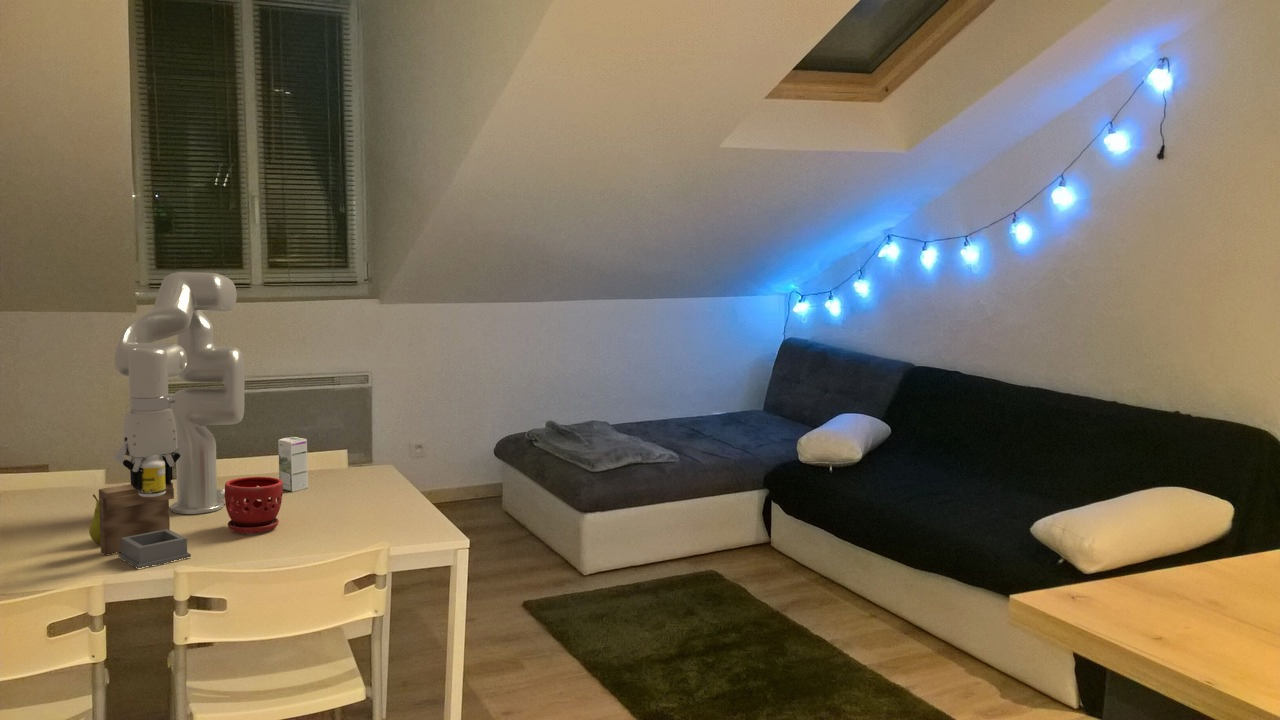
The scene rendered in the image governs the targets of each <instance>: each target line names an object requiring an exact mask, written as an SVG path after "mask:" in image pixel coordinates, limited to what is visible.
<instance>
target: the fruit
mask: <svg viewBox="0 0 1280 720" xmlns="http://www.w3.org/2000/svg"><path fill="white" fill-rule="evenodd" d="M92 497H93V498H94V499H95V501H96V504H95V508H94V513H93V520H92V522H91V524H90V526H89V531H88V533H89V536H90V538H91V540H92V541H93V542H94V543H96V544H97V545H101V539H100V514H99V499H98V498H97V496H96V495H95V494H92Z"/></svg>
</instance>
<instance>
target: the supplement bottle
mask: <svg viewBox="0 0 1280 720" xmlns="http://www.w3.org/2000/svg"><path fill="white" fill-rule="evenodd" d="M139 471H140V472H141V474H142V489H141V490H138V493H139V495H140V496H143V497H156V496H160V495H163V494H165V493H166V476H165V461H164V460H163V459H162V457H161V455H156V454H154V455H153V456H149V457H146V458H142V460H141V463H140V467H139Z"/></svg>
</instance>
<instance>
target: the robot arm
mask: <svg viewBox="0 0 1280 720" xmlns="http://www.w3.org/2000/svg"><path fill="white" fill-rule="evenodd" d="M236 288H237V287H236V285H235V284H234V282H233V280H231V278H229V277H227V276H225V275H222V274H220V273H215V272H198V271H197V272H193V271H191V272H190V271H177V272H172V273H169V274H168V275H166V276H165V277H164V278H163V279H162V281H161V285H160V287H159V290H158V293H157V296H156V299H155V303H154V305H153V308H152V310H150V311H149V312H147V313H145V314H143V315H141V316H139V318H137V319H135V320H134V321H132V322H131V323H130V324H128V325H126V327H125V329H124V330H123V331H122V333H121V334H120V337H119V340H118V343H117V345H116V349H115V352H114V358H113V361H114V362H113V363H114V368H115V369H116V371H117V373H119V374H120V375H121V376H124V377H128V384H129V385H128V389H129V391H128V392H129V394H128V395H129V410H127V411H125V415H124V419H123V427H122V441H121V444H122V445H121V446H120V447H119V448H118V450H117V451H116V452H115V454H114V455H113V456H112V458H113V459H114V460H116V461H117V462H119V463H120V464H121V465H123V466H124V467H125V468H127V469H128V470H129V471H130V484H131V485H132V486H133V488H135V489H137V490H141V489H142V474H141V472H140V471H139V467H140V463H141V460H142V458H146V457H149V456H153V455H154V454H156V455H161V457H160V458H161V459H163V460H164V461H165V476H166V485H171V482H172V480H173V467H174V466H175V465H176V466H175V467H176V468H175V469H176V499H177V500H176V501H175V502H174V503H171V505H170V511H172V512H173V513H175V514H181V515H196V514H197V515H198V514H207V513H212V512H216V511H219V510H221V509H223V508H224V506H225V505H224V504H225V501H224V500H225V488H222V489H220V488H218V476H217V472H218V471H217V469H218V468H217V443H216V442H217V441H216V439H215V437H214V435H213V433H212V432H211V431H210V430H209V429H208V428H207V426H217V425H220V426H221V425H222V426H224V425H225V426H227V425H228V426H229V425H230V426H232V425H236V424H239V423H240V422H242V420H243V418H244V414H245V381H246V379H245V375H246V374H245V371H246V370H245V359H244V356H243V353H242V351H241V350H240V349H239V348H238V347H235V346H229V345H221V346H220V345H215V342H214V334H215V333H214V331H215V330H214V326H213V324H212V322H211V321H210V319H209V318H208V317H207V316H206V314H205V313H204V312H229V311H231V310H232V309H233V308H234V307H235V305H236V302H237V297H238V293H237V289H236ZM176 335H177V343H172V342H171V343H169V342H156V341H161V340H165V339H167V338H171V337H174V336H176ZM176 376H178V377H179V379H180V380H182V381H183V382H187V383H195V384H196V383H197V384H198V383H199V384H207V383H208V384H209V383H210V384H211V383H212V384H213V383H215V384H219V383H220V384H223V385H224V387H211V388H210V387H196V388H195V387H190V388H183V389H182V388H181V389H180V390H177V391H176V392H175V393H173V395H172V396H170V395H169V380H168V379H169V377H176ZM125 456H129V457H130V459H129V460H128V459H127V458H126V457H125Z"/></svg>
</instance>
